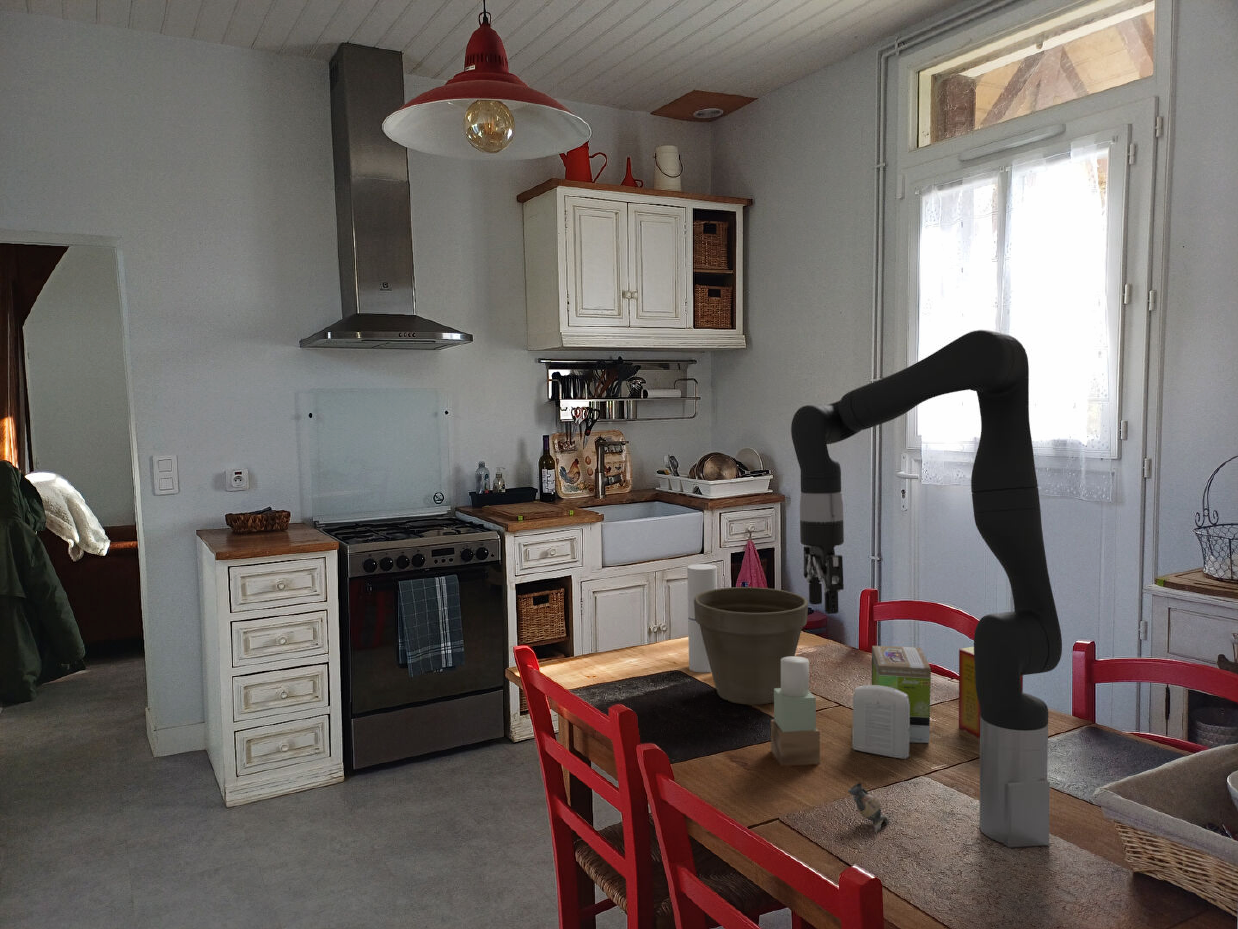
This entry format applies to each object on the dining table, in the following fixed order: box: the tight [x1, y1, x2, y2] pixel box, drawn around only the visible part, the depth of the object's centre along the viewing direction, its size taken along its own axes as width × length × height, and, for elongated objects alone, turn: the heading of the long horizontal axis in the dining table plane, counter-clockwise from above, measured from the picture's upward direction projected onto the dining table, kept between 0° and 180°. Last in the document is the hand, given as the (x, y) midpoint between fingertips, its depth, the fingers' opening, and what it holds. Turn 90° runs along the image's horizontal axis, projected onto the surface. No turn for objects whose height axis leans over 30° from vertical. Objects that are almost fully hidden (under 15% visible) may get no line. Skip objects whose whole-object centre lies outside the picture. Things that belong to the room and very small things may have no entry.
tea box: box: [871, 645, 932, 744], centre depth 176 cm, size 15×10×15 cm
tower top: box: [773, 688, 817, 732], centre depth 163 cm, size 6×6×6 cm
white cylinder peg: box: [781, 655, 810, 697], centre depth 163 cm, size 5×5×6 cm
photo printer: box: [851, 684, 910, 760], centre depth 165 cm, size 10×4×12 cm, turn 60°
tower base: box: [770, 718, 821, 767], centre depth 164 cm, size 7×7×6 cm
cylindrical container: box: [686, 563, 718, 673], centre depth 218 cm, size 7×7×25 cm
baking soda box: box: [958, 646, 1024, 739], centre depth 175 cm, size 10×6×16 cm
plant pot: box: [694, 586, 809, 706], centre depth 198 cm, size 25×25×22 cm
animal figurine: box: [847, 782, 890, 835], centre depth 138 cm, size 5×5×6 cm
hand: (823, 608), depth 160 cm, fingers open, 8 cm apart
